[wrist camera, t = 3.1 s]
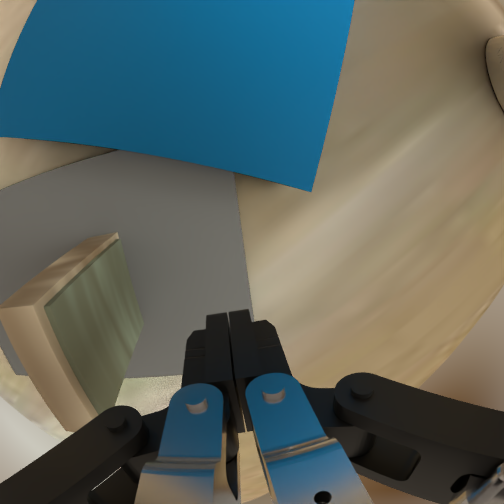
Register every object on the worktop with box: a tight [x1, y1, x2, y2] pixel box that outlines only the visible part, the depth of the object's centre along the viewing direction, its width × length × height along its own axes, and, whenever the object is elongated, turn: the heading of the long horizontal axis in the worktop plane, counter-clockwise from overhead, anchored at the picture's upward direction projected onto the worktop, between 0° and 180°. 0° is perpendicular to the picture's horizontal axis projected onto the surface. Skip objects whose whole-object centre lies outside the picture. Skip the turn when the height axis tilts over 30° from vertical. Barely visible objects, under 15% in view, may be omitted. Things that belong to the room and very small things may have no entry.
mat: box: [0, 150, 254, 378], centre depth 16 cm, size 22×15×1 cm
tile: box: [0, 232, 144, 432], centre depth 12 cm, size 2×6×9 cm, turn 7°
